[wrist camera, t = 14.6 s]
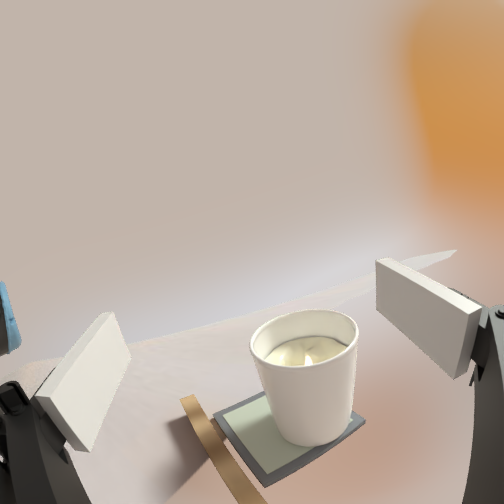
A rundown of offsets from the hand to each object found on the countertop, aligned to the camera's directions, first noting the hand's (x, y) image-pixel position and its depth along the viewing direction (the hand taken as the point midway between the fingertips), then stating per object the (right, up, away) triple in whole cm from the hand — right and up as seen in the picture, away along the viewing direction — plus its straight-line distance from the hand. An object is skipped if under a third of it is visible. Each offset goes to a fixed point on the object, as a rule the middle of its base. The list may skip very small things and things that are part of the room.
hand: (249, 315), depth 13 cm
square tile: (+4, -17, +15) cm, 23 cm away
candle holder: (+7, -16, +14) cm, 22 cm away
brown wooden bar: (-3, -19, +11) cm, 22 cm away
